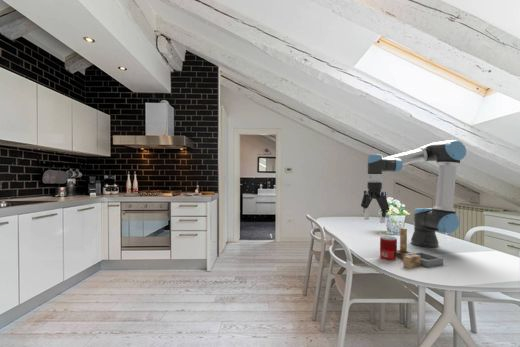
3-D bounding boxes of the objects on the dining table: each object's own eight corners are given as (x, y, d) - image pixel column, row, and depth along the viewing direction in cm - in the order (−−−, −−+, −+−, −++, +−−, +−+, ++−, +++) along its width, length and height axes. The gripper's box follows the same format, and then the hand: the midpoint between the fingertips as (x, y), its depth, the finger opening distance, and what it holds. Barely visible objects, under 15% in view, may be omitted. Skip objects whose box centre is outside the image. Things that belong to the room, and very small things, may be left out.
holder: (402, 253, 157) (402, 249, 157) (415, 257, 150) (415, 253, 150) (391, 255, 154) (391, 250, 154) (404, 259, 147) (404, 254, 147)
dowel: (402, 255, 154) (403, 228, 154) (408, 257, 151) (408, 229, 151) (398, 256, 153) (399, 228, 153) (403, 257, 150) (404, 229, 150)
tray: (420, 257, 150) (420, 252, 150) (443, 264, 139) (443, 258, 139) (404, 260, 145) (404, 254, 145) (426, 267, 134) (426, 261, 134)
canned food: (398, 260, 144) (398, 239, 144) (381, 259, 146) (382, 238, 146) (394, 256, 152) (394, 236, 152) (378, 255, 153) (378, 235, 153)
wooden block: (414, 264, 139) (415, 254, 139) (420, 266, 136) (420, 255, 136) (403, 266, 136) (403, 255, 136) (408, 268, 133) (409, 257, 133)
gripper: (354, 181, 167) (354, 218, 167) (386, 182, 146) (386, 225, 146) (364, 181, 170) (363, 217, 170) (397, 182, 149) (396, 224, 149)
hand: (374, 221), depth 158 cm, fingers open, 11 cm apart
